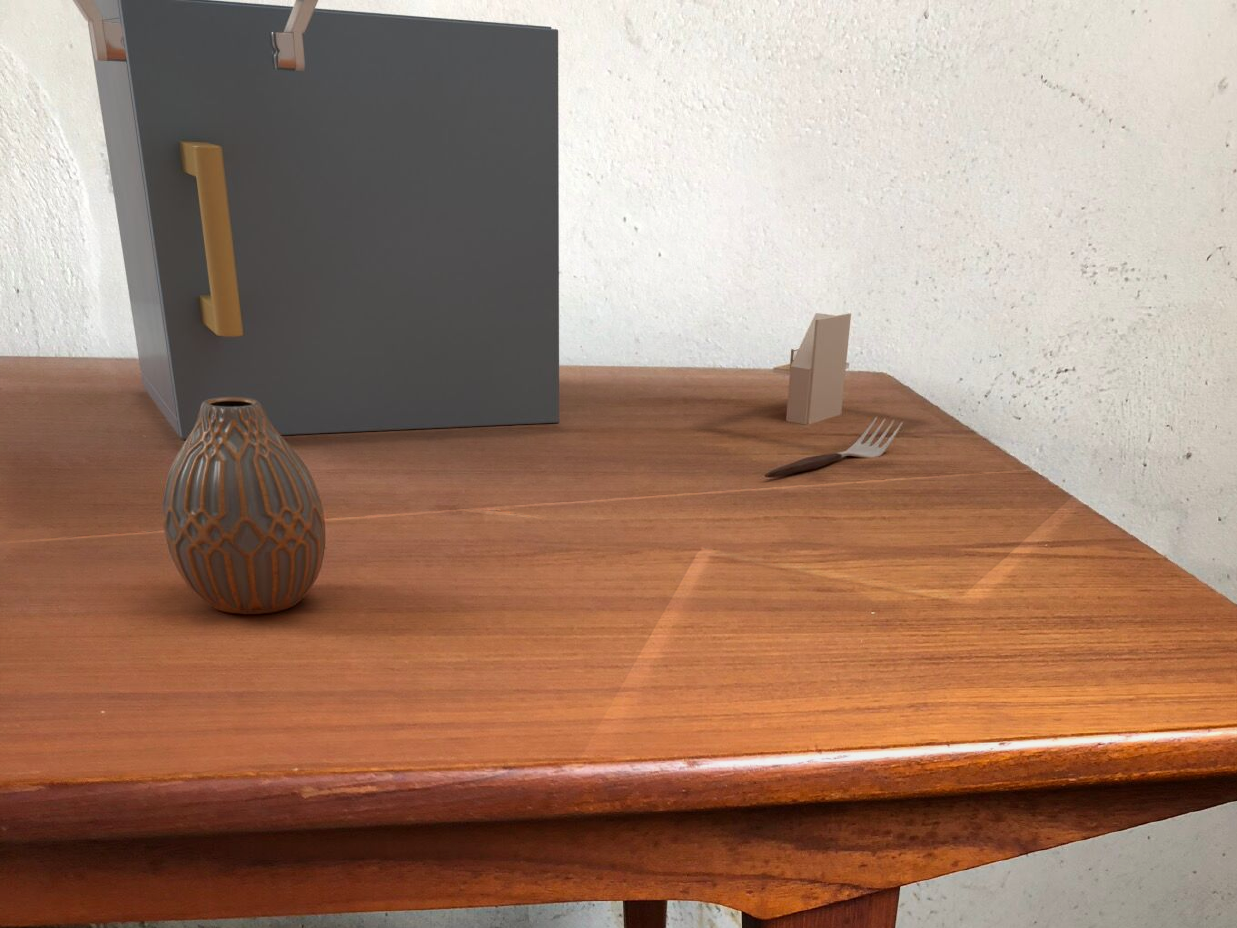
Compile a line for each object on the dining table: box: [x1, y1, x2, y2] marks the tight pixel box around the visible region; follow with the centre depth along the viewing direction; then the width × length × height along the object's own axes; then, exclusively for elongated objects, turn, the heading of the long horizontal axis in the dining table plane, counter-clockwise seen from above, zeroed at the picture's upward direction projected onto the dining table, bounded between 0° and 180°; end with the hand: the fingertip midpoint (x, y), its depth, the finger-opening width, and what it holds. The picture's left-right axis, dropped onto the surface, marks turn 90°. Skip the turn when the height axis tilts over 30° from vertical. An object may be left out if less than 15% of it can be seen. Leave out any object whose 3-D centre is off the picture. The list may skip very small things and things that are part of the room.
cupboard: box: [87, 0, 552, 438], centre depth 96 cm, size 18×26×24 cm
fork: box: [764, 416, 904, 478], centre depth 93 cm, size 3×16×2 cm, turn 144°
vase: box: [162, 397, 326, 615], centre depth 61 cm, size 7×7×9 cm
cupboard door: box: [118, 0, 560, 441], centre depth 87 cm, size 7×26×24 cm, turn 116°
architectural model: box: [772, 312, 852, 425], centre depth 105 cm, size 3×7×7 cm, turn 148°
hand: (202, 66), depth 75 cm, fingers open, 8 cm apart
